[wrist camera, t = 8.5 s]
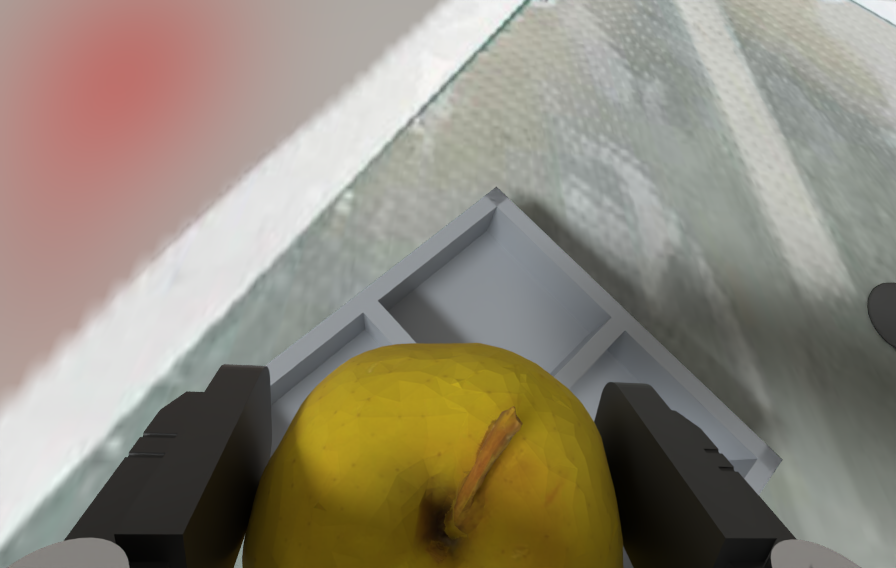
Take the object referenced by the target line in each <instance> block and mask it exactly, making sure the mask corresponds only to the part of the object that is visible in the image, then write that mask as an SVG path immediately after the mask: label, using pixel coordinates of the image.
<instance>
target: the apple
mask: <svg viewBox="0 0 896 568" xmlns="http://www.w3.org/2000/svg"><path fill="white" fill-rule="evenodd" d="M242 564H243V568H623V537H622V531H621V524H620V517H619V511H618V505H617V499H616V495H615V489H614V485H613V481H612V477H611V473H610V470H609V466H608V462H607V458H606V454H605V450H604V446H603V442H602V438H601V436H600V433H599V431H598V429H597V427H596V425H595V423H594V421H593V420H592V418H591V416H590V414H589V413H588V411H587V410H586V408H585V407H584V405H583V404H582V403H581V402H580V400H579V399H578V398H577V397H576V396H575V395H574V394H573V393H572V392H571V391H570V390H569V389H568V388H567V387H566V386H565V385H563V384H562V383H561V382H559V381H558V380H557V379H556V378H554V377H553V376H552V375H551V374H549V373H548V372H547V371H545V370H544V369H543V368H542V367H540V366H539V365H538V364H536V363H534V362H532V361H530V360H528V359H526V358H524V357H522V356H520V355H518V354H516V353H514V352H511V351H509V350H506V349H503V348H499V347H495V346H491V345H486V344H482V343H409V344H395V345H388V346H382V347H379V348H376V349H372V350H369V351H366V352H363V353H361V354H359V355H357V356H355V357H352V358H351V359H349V360H348V361H346V362H345V363H343V364H342V365H340V366H339V367H338V368H336V369H335V370H334V371H333V372H332V373H330V374H329V375H328V376H327V377H326V378H325V379H323V380H322V381H321V382H320V383H319V384H318V385H317V386H316V387H315V388H314V389H313V390H312V391H311V393H310V394H309V395H308V396H307V397H306V399H305V400H304V401H303V403H302V404H301V406H300V407H299V409H298V411H297V413H296V414H295V416H294V418H293V420H292V422H291V423H290V425H289V427H288V429H287V431H286V433H285V435H284V436H283V438H282V440H281V442H280V444H279V445H278V447H277V449H276V450H275V452H274V453H273V455H272V456H271V458H270V459H269V462H268V464H267V465H266V467H265V469H264V471H263V474H262V476H261V479H260V481H259V486H258V488H257V491H256V495H255V499H254V502H253V506H252V510H251V515H250V518H249V522H248V526H247V530H246V534H245V539H244V545H243V556H242Z"/></svg>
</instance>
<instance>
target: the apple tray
mask: <svg viewBox="0 0 896 568" xmlns="http://www.w3.org/2000/svg"><path fill="white" fill-rule="evenodd" d="M409 343H482V344H486V345H491V346H495V347H499V348H503V349H506V350H509V351H511V352H514V353H516V354H518V355H520V356H522V357H524V358H526V359H528V360H530V361H532V362H534V363H536V364H538V365H539V366H540V367H542V368H543V369H544V370H545V371H547V372H548V373H549V374H551V375H552V376H553V377H554V378H556V379H557V380H558V381H559V382H561V383H562V384H563V385H565V386H566V387H567V388H568V389H569V390H570V391H571V392H572V393H573V394H574V395H575V396H576V397H577V398H578V399H579V400H580V402H581V403H582V404H583V405H584V407H585V408H586V410H587V411H588V413H589V414H590V416H591V418H592V420H593V421H594V420H595V416H596V413H597V409H598V405H599V401H600V398H601V394H602V391H603V388H604V387H605V385H606V384H607V383H609V382H624V383H646V384H649V385H651V386H652V387H653V388H654V390H655V391H656V392H657V393H658V394H659V396H660V397H661V398H662V399H663V400H664V402H665V403H666V404H667V405H668V407H669V408H670V409H671V410H675V411H677V412H678V413H680V414H681V415H683V416H684V417H685V418H687V419H688V420H690V421H691V422H692V423H694V424H695V425H697V426H698V427H699V428H701V429H702V430H703V432H704V433H705V434H706V435H707V436H708V437H709V439H710V440H711V441H712V442H713V443H714V444H715V445H716V447H717V448H718V449H719V453H722V454H723V455H724V456H725V457H726V458H727V459H728V461H729V462H730V463H731V464H732V465H733V466H734V471H735V472H739V473H740V474H741V476H742V477H743V478H744V479H745V480H746V481H747V483H748V484H749V485H750V486H751V487H752V488H753V489H754V491H755V492H756V493H757V494H758V495H759V494H760V493H761V491H762V490H763V488H764V487H765V485H766V484H767V482H768V481H769V479H770V478H771V476H772V475H773V473H774V472H775V470H776V469H777V467H778V466H779V464H780V463H781V461H782V460H783V459H781V458H780V457H779V456H778V455H777V454H776V453H775V452H774V451H773V450H772V449H771V448H770V447H769V446H768V445H767V444H766V443H765V442H764V441H763V440H762V439H760V438H759V437H758V436H757V435H756V434H755V433H754V432H753V431H752V430H751V429H750V428H749V427H748V426H747V425H746V424H745V423H744V422H743V421H742V420H741V419H740V418H738V417H737V416H736V415H735V414H734V413H733V412H732V411H731V410H730V409H729V408H728V407H727V406H726V405H725V404H724V403H723V402H722V401H721V400H720V399H719V398H718V397H716V396H715V395H714V394H713V393H712V392H711V391H710V390H709V389H708V388H707V387H706V386H705V385H704V384H703V383H702V382H701V381H700V380H699V379H698V378H697V377H696V376H694V375H693V374H692V373H691V372H690V371H689V370H688V369H687V368H686V367H685V366H684V365H683V364H682V363H681V362H680V361H679V360H678V359H677V358H676V357H675V356H674V355H672V354H671V353H670V352H669V351H668V350H667V349H666V348H665V347H664V346H663V345H662V344H661V343H660V342H659V341H658V340H657V339H656V338H655V337H654V336H653V335H651V334H650V333H649V332H648V331H647V330H646V329H645V328H644V327H643V326H642V325H641V324H640V323H639V322H638V321H637V320H636V319H635V318H634V317H633V316H632V315H631V314H629V313H628V312H627V311H626V310H625V309H624V308H623V307H622V306H621V305H620V304H619V303H618V302H617V301H616V300H615V299H614V298H613V297H612V296H611V295H610V294H609V293H607V292H606V291H605V290H604V289H603V288H602V287H601V286H600V285H599V284H598V283H597V282H596V281H595V280H594V279H593V278H592V277H591V276H590V275H589V274H588V273H587V272H585V271H584V270H583V269H582V268H581V267H580V266H579V265H578V264H577V263H576V262H575V261H574V260H573V259H572V258H571V257H570V256H569V255H568V254H567V253H566V252H565V251H563V250H562V249H561V248H560V247H559V246H558V245H557V244H556V243H555V242H554V241H553V240H552V239H551V238H550V237H549V236H548V235H547V234H546V233H545V232H544V231H542V230H541V229H540V228H539V227H538V226H537V225H536V224H535V223H534V222H533V221H532V220H531V219H530V218H529V217H528V216H527V215H526V214H525V213H524V212H523V211H522V210H520V209H519V208H518V207H517V206H516V205H515V204H514V203H513V202H512V201H511V200H510V199H509V198H508V197H507V196H506V195H505V194H504V193H503V192H502V191H501V190H500V189H498V188H497V187H496V188H494V189H493V190H492V191H490V192H489V193H488V194H486V195H485V196H484V197H483V198H481V199H480V200H479V201H477V202H476V203H475V204H473V205H472V206H471V207H470V208H468V209H467V210H466V211H464V212H463V213H462V214H461V215H459V216H458V217H457V218H455V219H454V220H453V221H451V222H450V223H449V224H448V225H446V226H445V227H444V228H442V229H441V230H440V231H439V232H437V233H436V234H435V235H433V236H432V237H431V238H429V239H428V240H427V241H426V242H424V243H423V244H422V245H420V246H419V247H418V248H416V249H415V250H414V251H413V252H411V253H410V254H409V255H407V256H406V257H405V258H404V259H402V260H401V261H400V262H398V263H397V264H396V265H394V266H393V267H392V268H391V269H389V270H388V271H387V272H385V273H384V274H383V275H382V276H380V277H379V278H378V279H376V280H375V281H374V282H372V283H371V284H370V285H369V286H367V287H366V288H365V289H363V290H362V291H361V292H359V293H358V294H357V295H356V296H354V297H353V298H352V299H350V300H349V301H348V302H347V303H345V304H344V305H343V306H341V307H340V308H339V309H337V310H336V311H335V312H334V313H332V314H331V315H330V316H328V317H327V318H326V319H325V320H323V321H322V322H321V323H319V324H318V325H317V326H315V327H314V328H313V329H312V330H310V331H309V332H308V333H306V334H305V335H304V336H302V337H301V338H300V339H299V340H297V341H296V342H295V343H293V344H292V345H291V346H290V347H288V348H287V349H286V350H284V351H283V352H282V353H280V354H279V355H278V356H277V357H275V358H274V359H273V360H271V361H270V362H269V363H268V364H266V365H265V366H267V367H268V369H269V372H270V387H271V417H272V447H271V455H270V458H271V456H272V455H273V453H274V452H275V450H276V449H277V447H278V445H279V444H280V442H281V440H282V438H283V436H284V435H285V433H286V431H287V429H288V427H289V425H290V423H291V422H292V420H293V418H294V416H295V414H296V413H297V411H298V409H299V407H300V406H301V404H302V403H303V401H304V400H305V399H306V397H307V396H308V395H309V394H310V393H311V391H312V390H313V389H314V388H315V387H316V386H317V385H318V384H319V383H320V382H321V381H322V380H323V379H325V378H326V377H327V376H328V375H329V374H330V373H332V372H333V371H334V370H335V369H336V368H338V367H339V366H340V365H342V364H343V363H345V362H346V361H348V360H349V359H351V358H352V357H355V356H357V355H359V354H361V353H363V352H366V351H369V350H372V349H376V348H379V347H382V346H388V345H395V344H409ZM623 568H633V566H632V563H631V561H630V559H629V557H628V555H627V553H626V551H625V549H624V547H623Z"/></svg>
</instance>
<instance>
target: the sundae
mask: <svg viewBox="0 0 896 568" xmlns="http://www.w3.org/2000/svg"><path fill="white" fill-rule="evenodd" d="M868 312H869V316H870V318H871V321H872V323H873V325H874V327H875V329H876V330H877V331H878V333H879V334H880V335H881V336H882V337H883V338H884V340H885V341H887V342H888V343H889V344H890V345H892V346H893V347H895V348H896V283H883V284H880V285H878V286H877V287H875V288H874V289H873V290H872V292H871V294H870V296H869V299H868Z"/></svg>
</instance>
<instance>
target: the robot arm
mask: <svg viewBox="0 0 896 568" xmlns="http://www.w3.org/2000/svg"><path fill="white" fill-rule="evenodd" d="M594 423H595V425H596V427H597V429H598V431H599V433H600V436H601V438H602V442H603V446H604V450H605V454H606V458H607V462H608V466H609V470H610V473H611V477H612V481H613V485H614V489H615V495H616V499H617V505H618V511H619V517H620V524H621V531H622V537H623V547H624V549H625V551H626V553H627V555H628V557H629V559H630V561H631V563H632V566H633V568H861V567H859V566H858V565H857V564H855V563H854V562H852V561H851V560H849V559H847V558H846V557H844V556H842V555H841V554H839V553H837V552H835V551H833V550H831V549H829V548H826V547H824V546H821V545H819V544H815V543H812V542H809V541H803V540H797V539H796V538H795V537H794V536H793V535H792V533H791V532H790V531H789V530H788V529H787V528H786V527H785V525H784V524H783V523H782V522H781V521H780V520H779V518H778V517H777V516H776V515H775V514H774V513H773V511H772V510H771V509H770V508H769V507H768V506H767V505H766V503H765V502H764V501H763V500H762V499H761V498H760V496H759V495H758V494H757V493H756V492H755V491H754V489H753V488H752V487H751V486H750V485H749V484H748V483H747V481H746V480H745V479H744V478H743V477H742V476H741V474H740V473H739V472H735V471H734V466H733V465H732V464H731V463H730V462H729V461H728V459H727V458H726V457H725V456H724V455H723V454H722V453H719V449H718V448H717V447H716V445H715V444H714V443H713V442H712V441H711V440H710V439H709V437H708V436H707V435H706V434H705V433H704V432H703V430H702V429H701V428H699V427H698V426H697V425H695V424H694V423H692V422H691V421H690V420H688V419H687V418H685V417H684V416H683V415H681V414H680V413H678V412H677V411H675V410H671V409H670V408H669V407H668V405H667V404H666V403H665V402H664V400H663V399H662V398H661V397H660V396H659V394H658V393H657V392H656V391H655V390H654V388H653V387H652V386H651V385H649V384H646V383H624V382H609V383H607V384H606V385H605V387H604V388H603V391H602V394H601V398H600V401H599V405H598V409H597V413H596V416H595V420H594ZM271 447H272V417H271V387H270V372H269V369H268V367H267V366H253V365H230V364H224V365H222V366H221V367H220V368H219V370H218V371H217V373H216V375H215V376H214V378H213V379H212V381H211V382H210V384H209V386H208V387H207V389H206V390H205V392H186V393H184V394H183V395H181V396H180V397H178V398H177V399H175V400H174V401H172V402H171V403H170V404H168V405H167V406H165V407H164V408H162V409H161V410H160V411H159V412H158V414H157V415H156V416H155V418H154V419H153V420H152V422H151V423H150V424H149V426H148V427H147V429H146V430H145V431H144V434H143V437H140V438H139V439H138V441H137V442H136V443H135V445H134V446H133V448H132V449H131V450H130V452H129V456H128V457H125V458H124V460H123V461H122V462H121V464H120V465H119V467H118V468H117V469H116V471H115V472H114V473H113V475H112V476H111V477H110V479H109V480H108V481H107V483H106V484H105V486H104V487H103V488H102V490H101V491H100V492H99V494H98V495H97V496H96V498H95V499H94V500H93V502H92V503H91V505H90V506H89V507H88V509H87V510H86V511H85V513H84V514H83V515H82V517H81V518H80V519H79V521H78V522H77V524H76V525H75V526H74V528H73V529H72V530H71V532H70V533H69V534H68V536H67V537H66V538H65V540H64V541H62V542H58V543H55V544H52V545H49V546H47V547H44V548H41V549H39V550H37V551H35V552H33V553H31V554H28V555H27V556H25V557H23V558H21V559H20V560H18V561H16V562H14V563H13V564H12V565H10V566H9V567H7V568H234V565H235V562H236V559H237V556H238V554H239V551H240V548H241V545H242V542H243V539H244V536H245V533H246V530H247V526H248V522H249V518H250V515H251V510H252V506H253V502H254V499H255V495H256V491H257V488H258V486H259V481H260V479H261V476H262V474H263V471H264V469H265V467H266V465H267V464H268V462H269V459H270V455H271Z"/></svg>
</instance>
